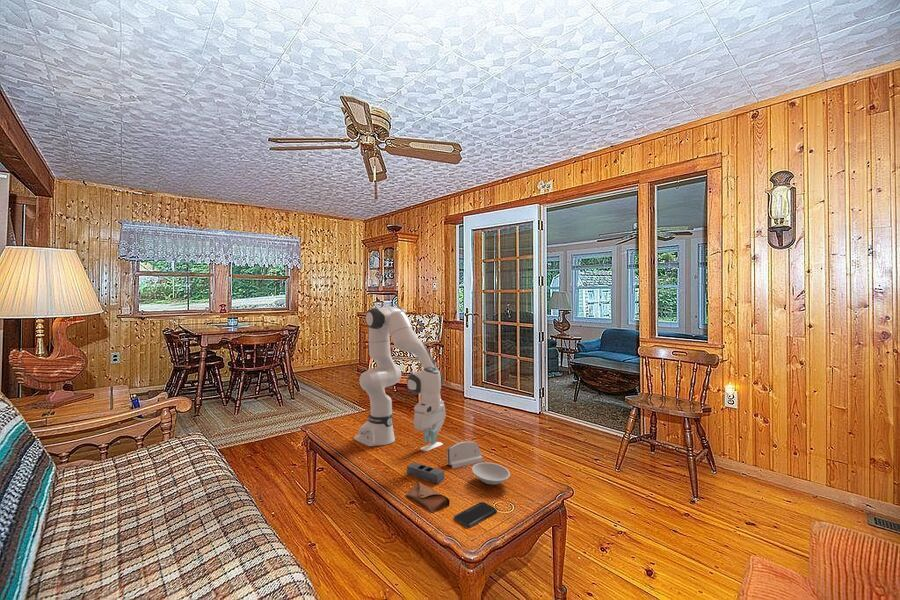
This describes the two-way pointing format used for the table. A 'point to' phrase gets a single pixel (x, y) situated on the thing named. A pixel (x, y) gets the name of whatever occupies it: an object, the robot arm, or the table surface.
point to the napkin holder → (463, 454)
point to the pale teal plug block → (432, 434)
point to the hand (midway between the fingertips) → (430, 434)
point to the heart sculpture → (431, 446)
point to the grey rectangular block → (425, 472)
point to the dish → (491, 473)
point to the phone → (475, 514)
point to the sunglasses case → (427, 497)
